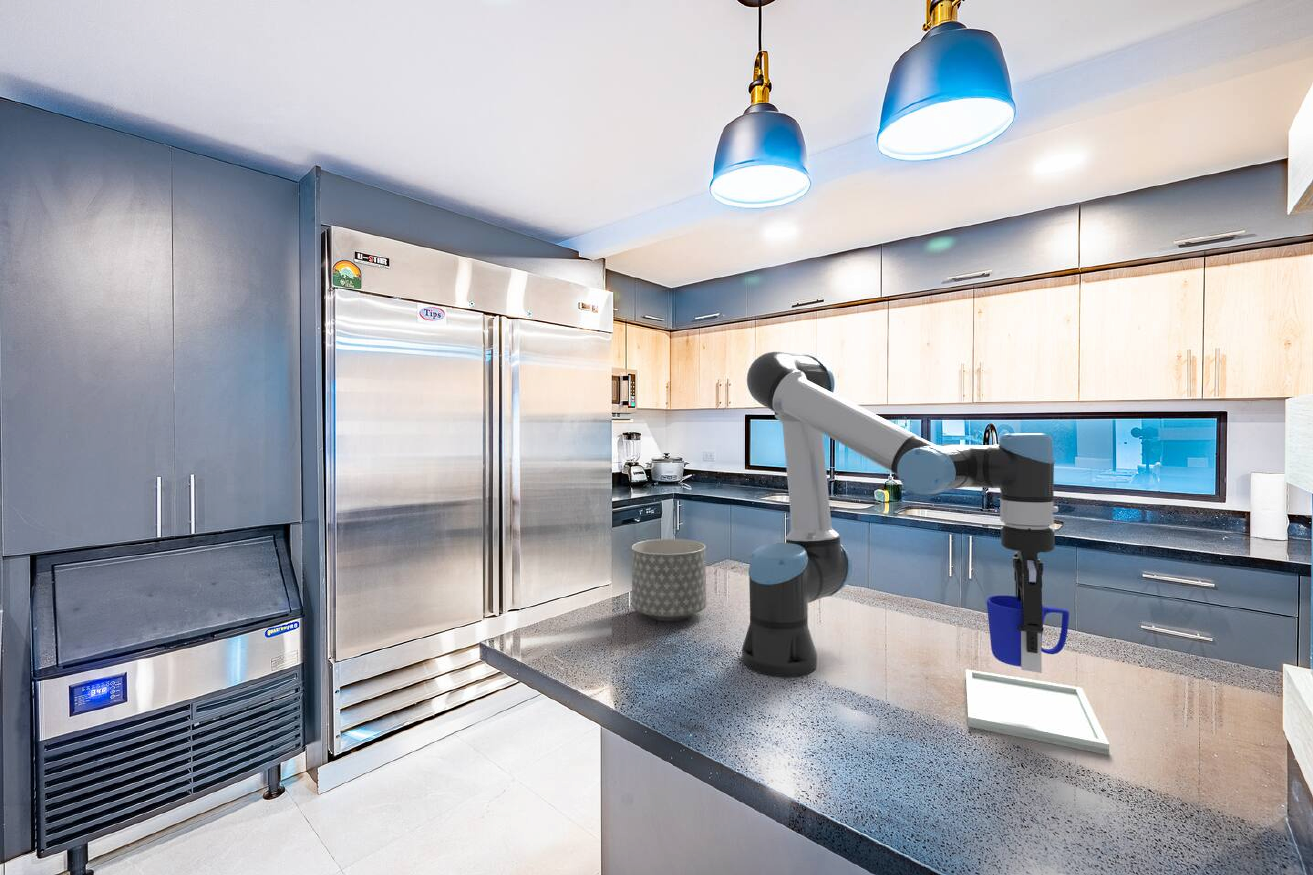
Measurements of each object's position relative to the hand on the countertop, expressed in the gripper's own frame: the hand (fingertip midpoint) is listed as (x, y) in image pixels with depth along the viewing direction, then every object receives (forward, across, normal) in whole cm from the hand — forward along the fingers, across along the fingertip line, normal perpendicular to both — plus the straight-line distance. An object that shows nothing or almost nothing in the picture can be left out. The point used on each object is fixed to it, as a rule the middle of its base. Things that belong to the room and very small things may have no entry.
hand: (1028, 661), depth 96 cm
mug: (0, 0, 0) cm, 1 cm away
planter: (+8, +18, +76) cm, 79 cm away
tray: (+8, 0, 0) cm, 8 cm away
